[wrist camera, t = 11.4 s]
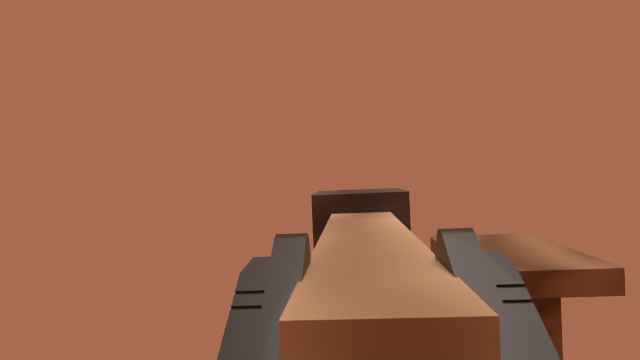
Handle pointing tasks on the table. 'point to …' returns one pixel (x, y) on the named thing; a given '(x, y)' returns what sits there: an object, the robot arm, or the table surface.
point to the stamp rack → (554, 275)
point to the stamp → (380, 290)
